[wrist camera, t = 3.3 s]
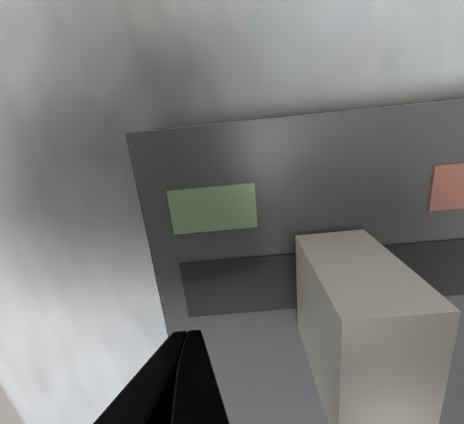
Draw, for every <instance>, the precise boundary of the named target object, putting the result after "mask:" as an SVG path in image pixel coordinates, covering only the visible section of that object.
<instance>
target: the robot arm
mask: <svg viewBox="0 0 464 424" xmlns="http://www.w3.org/2000/svg"><path fill="white" fill-rule="evenodd" d="M93 424H230V423H229V420H228V416H227V413H226V410H225V407H224V403H223V400H222V397H221V394H220V390H219V387H218V384H217V381H216V377H215V374H214V371H213V367H212V364H211V361H210V358H209V354H208V351H207V348H206V345H205V341H204V338H203V335H202V332H201V330H189V331H188V332H186V331H176V332H173V333H172V334H171V335H170V336H169V337H168V338H167V339H166V341H165V342H164V343H163V344H162V345H161V346H160V347H159V349H158V350H157V351H156V352H155V353H154V354H153V355H152V357H151V358H150V359H149V360H148V361H147V362H146V364H145V365H144V366H143V367H142V368H141V369H140V370H139V372H138V373H137V374H136V375H135V376H134V377H133V378H132V380H131V381H130V382H129V383H128V384H127V385H126V387H125V388H124V389H123V390H122V391H121V392H120V393H119V395H118V396H117V397H116V398H115V399H114V400H113V401H112V403H111V404H110V405H109V406H108V407H107V408H106V410H105V411H104V412H103V413H102V414H101V415H100V416H99V418H98V419H97V420H96V421H95V422H94V423H93Z"/></svg>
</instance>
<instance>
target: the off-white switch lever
mask: <svg viewBox="0 0 464 424" xmlns="http://www.w3.org/2000/svg"><path fill="white" fill-rule="evenodd" d="M295 241H296V280H297V319H298V330H299V333H300V336H301V339H302V342H303V345H304V348H305V352H306V355H307V358H308V361H309V364H310V367H311V370H312V373H313V377H314V380H315V383H316V386H317V389H318V392H319V395H320V398H321V402H322V405H323V408H324V411H325V414H326V417H327V420H328V424H439V421H440V416H441V411H442V406H443V401H444V396H445V391H446V386H447V381H448V376H449V371H450V366H451V361H452V356H453V351H454V346H455V341H456V336H457V331H458V326H459V321H460V316H461V311H460V310H459V309H458V308H457V307H456V306H454V305H453V304H452V303H451V302H450V301H448V300H447V299H446V298H445V297H444V296H443V295H441V294H440V293H439V292H438V291H437V290H435V289H434V288H433V287H432V286H431V285H429V284H428V283H427V282H426V281H425V280H423V279H422V278H421V277H420V276H419V275H417V274H416V273H415V272H414V271H413V270H412V269H410V268H409V267H408V266H407V265H406V264H404V263H403V262H402V261H401V260H400V259H398V258H397V257H396V256H395V255H394V254H392V253H391V252H390V251H389V250H388V249H386V248H385V247H384V246H383V245H382V244H381V243H379V242H378V241H377V240H376V239H375V238H373V237H372V236H371V235H370V234H369V233H367V232H366V231H365V230H364V229H362V230H351V231H340V232H328V233H317V234H306V235H295Z"/></svg>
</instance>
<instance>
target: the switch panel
mask: <svg viewBox="0 0 464 424" xmlns="http://www.w3.org/2000/svg"><path fill="white" fill-rule="evenodd" d="M126 138H127V143H128V148H129V152H130V157H131V162H132V167H133V171H134V176H135V181H136V186H137V190H138V195H139V200H140V205H141V210H142V214H143V219H144V224H145V229H146V233H147V238H148V243H149V248H150V252H151V257H152V262H153V267H154V272H155V276H156V281H157V286H158V291H159V295H160V300H161V305H162V310H163V314H164V319H165V324H166V329H167V334H168V337H169V336H170V335H171V334H172V333H173V332H176V331H186V332H188V331H189V330H201V332H202V335H203V338H204V341H205V345H206V348H207V351H208V354H209V358H210V361H211V364H212V367H213V371H214V374H215V377H216V381H217V384H218V387H219V390H220V394H221V397H222V400H223V403H224V407H225V410H226V413H227V416H228V420H229V423H230V424H328V420H327V417H326V414H325V411H324V408H323V405H322V402H321V398H320V395H319V392H318V389H317V386H316V383H315V380H314V377H313V373H312V370H311V367H310V364H309V361H308V358H307V355H306V352H305V348H304V345H303V342H302V339H301V336H300V333H299V330H298V319H297V280H296V241H295V235H306V234H317V233H328V232H340V231H351V230H362V229H364V230H365V231H366V232H367V233H369V234H370V235H371V236H372V237H373V238H375V239H376V240H377V241H378V242H379V243H381V244H382V245H383V246H384V247H385V248H386V249H388V250H389V251H390V252H391V253H392V254H394V255H395V256H396V257H397V258H398V259H400V260H401V261H402V262H403V263H404V264H406V265H407V266H408V267H409V268H410V269H412V270H413V271H414V272H415V273H416V274H417V275H419V276H420V277H421V278H422V279H423V280H425V281H426V282H427V283H428V284H429V285H431V286H432V287H433V288H434V289H435V290H437V291H438V292H439V293H440V294H441V295H443V296H444V297H445V298H446V299H447V300H448V301H450V302H451V303H452V304H453V305H454V306H456V307H457V308H458V309H459V310H460V311H461V316H460V321H459V326H458V331H457V336H456V341H455V346H454V351H453V356H452V361H451V366H450V371H449V376H448V381H447V386H446V391H445V396H444V401H443V406H442V411H441V416H440V421H439V424H464V98H460V99H450V100H440V101H430V102H420V103H410V104H401V105H391V106H381V107H371V108H361V109H351V110H341V111H331V112H321V113H311V114H302V115H292V116H282V117H272V118H262V119H252V120H242V121H232V122H222V123H212V124H202V125H193V126H183V127H173V128H163V129H153V130H145V131H139V132H132V133H126Z"/></svg>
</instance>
